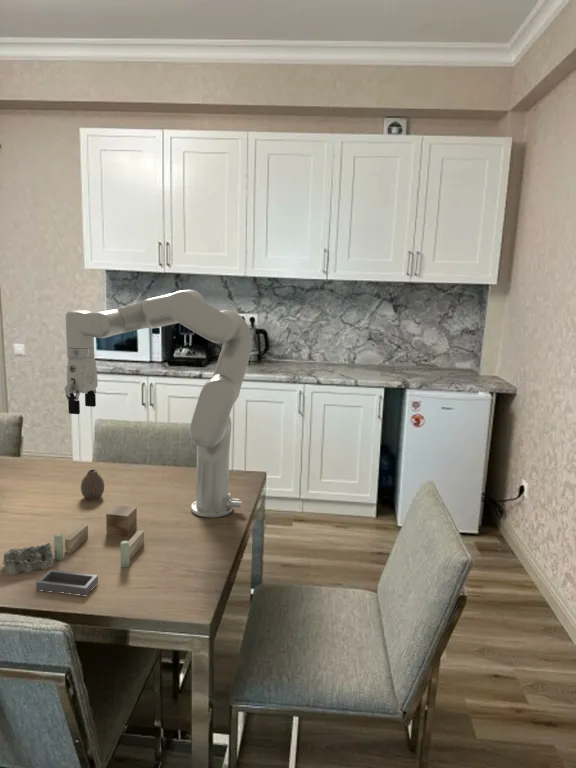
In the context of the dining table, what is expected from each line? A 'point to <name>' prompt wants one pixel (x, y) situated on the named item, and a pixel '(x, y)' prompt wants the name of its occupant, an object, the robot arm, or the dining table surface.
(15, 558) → the grey jagged open ring
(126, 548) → the goal posts
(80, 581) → the tray
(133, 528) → the walnut block
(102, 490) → the vase
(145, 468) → the dining table surface
